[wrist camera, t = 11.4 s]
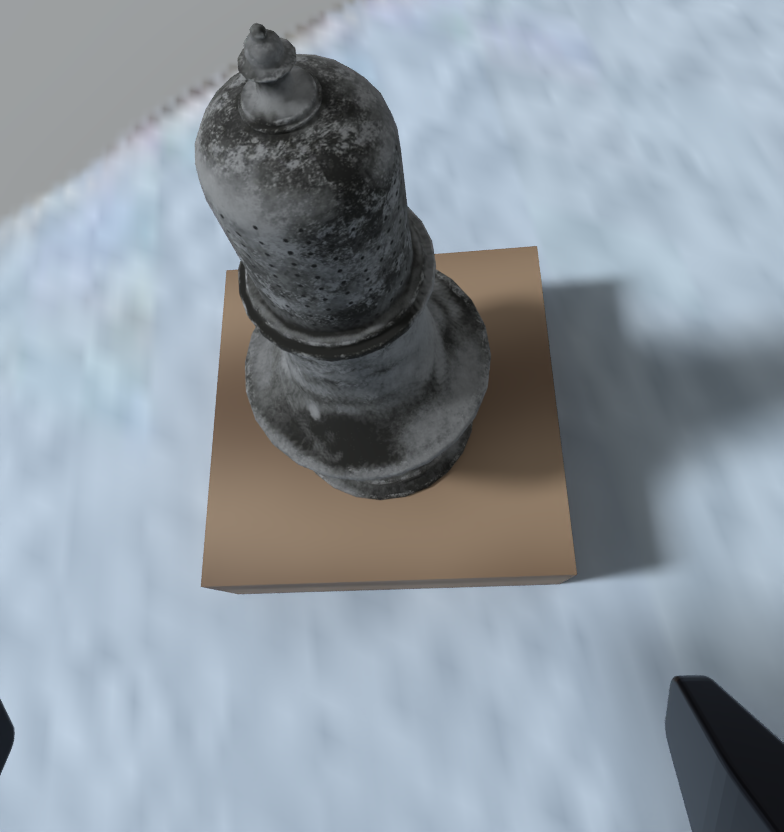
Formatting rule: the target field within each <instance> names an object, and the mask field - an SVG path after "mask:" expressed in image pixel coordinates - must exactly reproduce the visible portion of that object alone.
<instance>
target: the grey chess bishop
mask: <svg viewBox="0 0 784 832" xmlns="http://www.w3.org/2000/svg"><path fill="white" fill-rule="evenodd" d="M238 70H239V73H237V74H236V75H234V76H233V77H231V78H230V79H229V80H228V81H227V82H226V83H225V84H224V85H223V86H222V87H221V88H220V89H219V90H218V91H217V92H216V94H215V95H214V97H213V98H212V100H211V102H210V103H209V105H208V106H207V108H206V110H205V113H204V116H203V118H202V121H201V124H200V128H199V131H198V134H197V138H196V141H195V165H196V169H197V173H198V177H199V181H200V184H201V187H202V189H203V192H204V195H205V198H206V201H207V202H208V204H209V206H210V208H211V209H212V211H213V213H214V215H215V216H216V218H217V220H218V222H219V223H220V225H221V227H222V229H223V230H224V232H225V234H226V236H227V237H228V239H229V241H230V242H231V244H232V246H233V248H234V249H235V251H236V253H237V255H238V256H239V258H240V260H241V261H240V265H239V269H238V282H239V295H240V297H241V300H242V303H243V306H244V309H245V311H246V314H247V316H248V317H249V319H250V320H251V321H252V323H253V324H254V325H255V329H254V331H253V333H252V335H251V339H250V343H249V347H248V352H247V356H246V360H245V380H246V393H247V396H248V399H249V402H250V405H251V408H252V411H253V414H254V417H255V420H256V421H257V423H258V424H259V425H260V427H261V428H262V430H263V431H264V432H265V434H266V435H267V437H268V438H269V440H270V441H271V442H272V444H273V445H274V446H275V447H277V448H278V449H279V450H280V451H282V452H283V453H284V454H286V455H287V456H288V457H289V458H291V459H292V460H293V461H294V462H296V463H297V464H298V465H300V466H303V467H305V468H308V469H310V470H313V471H314V472H315V473H316V474H317V475H318V476H319V477H321V478H322V479H323V480H324V481H326V482H327V483H328V484H330V485H331V486H332V487H333V488H335V489H338V490H340V491H342V492H345V493H347V494H350V495H352V496H355V497H359V498H367V499H375V500H386V499H394V498H401V497H406V496H409V495H411V494H413V493H416V492H418V491H421V490H423V489H426V488H428V487H429V486H431V485H432V484H433V483H435V482H436V481H437V480H439V479H440V478H441V477H443V476H444V475H445V474H447V473H448V472H449V470H450V469H451V468H452V467H453V465H454V464H455V463H456V461H457V460H458V459H459V458H460V456H461V455H462V454H463V452H464V449H465V447H466V444H467V442H468V439H469V437H470V434H471V432H472V424H473V420H474V418H475V417H476V415H477V412H478V410H479V408H480V405H481V403H482V400H483V398H484V395H485V393H486V390H487V388H488V380H489V370H490V361H491V352H490V347H489V342H488V336H487V331H486V326H485V324H484V322H483V320H482V318H481V316H480V314H479V313H478V311H477V309H476V307H475V305H474V303H473V301H472V300H471V298H470V297H469V296H468V295H467V294H466V293H465V292H464V291H463V290H462V289H461V288H460V287H459V286H458V285H457V284H456V283H455V282H454V280H453V279H451V278H450V277H448V276H446V275H445V274H443V273H441V272H440V271H438V270H437V269H436V261H435V255H434V250H433V244H432V240H431V238H430V236H429V234H428V232H427V230H426V228H425V227H424V225H423V223H422V221H421V220H420V219H419V218H418V217H417V216H416V215H415V214H414V213H413V212H412V210H411V209H410V208H409V207H408V206H407V199H406V190H405V182H404V173H403V164H402V156H401V148H400V141H399V135H398V129H397V126H396V123H395V121H394V119H393V116H392V114H391V111H390V110H389V108H388V106H387V104H386V102H385V100H384V98H383V97H382V95H381V93H380V92H379V91H378V90H377V89H376V88H375V87H374V86H373V85H372V84H371V83H370V82H369V81H368V80H367V79H366V78H364V77H363V76H361V75H360V74H358V73H357V72H355V71H354V70H352V69H351V68H349V67H347V66H345V65H343V64H341V63H339V62H338V61H336V60H333V59H329V58H325V57H321V56H317V55H307V54H296V50H295V47H294V46H293V45H292V44H291V43H290V42H289V41H288V40H287V39H283V38H280V37H279V36H278V35H277V34H276V33H275V32H274V31H271V30H268V29H265V27H264V26H263V25H261V24H257V23H256V24H253V25H252V26H251V28H250V33H249V35H248V36H247V38H246V40H245V41H244V49H243V50H242V52H241V53H240V55H239V57H238Z"/></svg>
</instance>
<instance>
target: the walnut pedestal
mask: <svg viewBox="0 0 784 832" xmlns="http://www.w3.org/2000/svg"><path fill="white" fill-rule="evenodd" d="M434 255H435V261H436V269H437V270H438V271H440V272H441V273H443V274H445V275H446V276H448V277H450V278H451V279H453V280H454V282H455V283H456V284H457V285H458V286H459V287H460V288H461V289H462V290H463V291H464V292H465V293H466V294H467V295H468V296H469V297H470V298H471V300H472V301H473V303H474V305H475V307H476V309H477V311H478V313H479V314H480V316H481V318H482V320H483V322H484V324H485V326H486V331H487V336H488V342H489V347H490V352H491V361H490V370H489V380H488V388H487V390H486V393H485V395H484V398H483V400H482V403H481V405H480V408H479V410H478V412H477V415H476V417H475V418H474V420H473V424H472V432H471V434H470V437H469V439H468V442H467V444H466V447H465V449H464V452H463V454H462V455H461V456H460V458H459V459H458V460H457V461H456V463H455V464H454V465H453V467H452V468H451V469H450V470H449V472H448V473H447V474H445V475H444V476H443V477H441V478H440V479H439V480H437V481H436V482H435V483H433V484H432V485H431V486H429V487H428V488H426V489H423V490H421V491H418V492H416V493H413V494H411V495H409V496H406V497H401V498H394V499H386V500H375V499H367V498H359V497H355V496H352V495H350V494H347V493H345V492H342V491H340V490H338V489H335V488H333V487H332V486H331V485H330V484H328V483H327V482H326V481H324V480H323V479H322V478H321V477H319V476H318V475H317V474H316V473H315V472H314V471H313V470H310V469H308V468H305V467H303V466H300V465H298V464H297V463H296V462H294V461H293V460H292V459H291V458H289V457H288V456H287V455H286V454H284V453H283V452H282V451H280V450H279V449H278V448H277V447H275V446H274V445H273V444H272V442H271V441H270V440H269V438H268V437H267V435H266V434H265V432H264V431H263V430H262V428H261V427H260V425H259V424H258V423H257V421H256V420H255V417H254V414H253V411H252V408H251V405H250V402H249V399H248V396H247V393H246V380H245V360H246V356H247V352H248V347H249V343H250V339H251V335H252V333H253V331H254V329H255V325H254V324H253V323H252V321H251V320H250V319H249V317H248V316H247V314H246V311H245V309H244V306H243V303H242V300H241V297H240V295H239V282H238V270H227V272H226V284H225V296H224V308H223V321H222V333H221V345H220V358H219V370H218V382H217V394H216V407H215V419H214V431H213V444H212V456H211V468H210V480H209V493H208V505H207V517H206V530H205V542H204V554H203V566H202V579H201V587H204V588H209V589H214V590H220V591H225V592H230V593H235V594H259V593H291V592H324V591H356V590H389V589H421V588H453V587H486V586H518V585H550V584H561V583H562V582H564V581H566V580H568V579H570V578H572V577H574V576H576V575H577V570H576V562H575V554H574V546H573V538H572V529H571V521H570V513H569V505H568V497H567V488H566V480H565V472H564V464H563V456H562V447H561V439H560V431H559V423H558V415H557V406H556V398H555V390H554V382H553V374H552V365H551V357H550V349H549V341H548V333H547V324H546V316H545V308H544V300H543V292H542V283H541V275H540V267H539V259H538V251H537V246H532V247H520V248H507V249H494V250H481V251H469V252H456V253H443V254H434Z"/></svg>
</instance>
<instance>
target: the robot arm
mask: <svg viewBox="0 0 784 832" xmlns="http://www.w3.org/2000/svg"><path fill="white" fill-rule="evenodd" d="M665 730H666V737H667V742H668V746H669V749H670V753H671V756H672V760H673V764H674V767H675V771H676V775H677V778H678V782H679V786H680V789H681V793H682V796H683V800H684V804H685V807H686V811H687V815H688V818H689V822H690V826H691V829H692V832H784V743H783V742H782V741H781V740H780V739H779V738H778V737H777V736H775V735H774V734H773V733H772V732H771V731H770V730H769V729H768V728H766V727H765V726H764V725H763V724H762V723H761V722H760V721H759V720H757V719H756V718H755V717H754V716H753V715H752V714H751V713H750V712H748V711H747V710H746V709H745V708H744V707H743V706H742V705H741V704H739V703H738V702H737V701H736V700H735V699H734V698H733V697H732V696H730V695H729V694H728V693H727V692H726V691H725V690H724V689H723V688H722V687H720V686H719V685H718V684H717V683H716V682H715V681H714V680H712V679H711V678H709V677H707V676H703V675H686V676H675V677H674V678H673V679H672V681H671V684H670V690H669V697H668V704H667V711H666V719H665ZM14 735H15V732H14V726H13V724H12V722H11V720H10V718H9V716H8V714H7V712H6V710H5V708H4V705H3V703H2V701H1V699H0V775H1V772H2V770H3V767H4V765H5V763H6V760H7V758H8V756H9V753H10V751H11V749H12V746H13V742H14Z"/></svg>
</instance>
